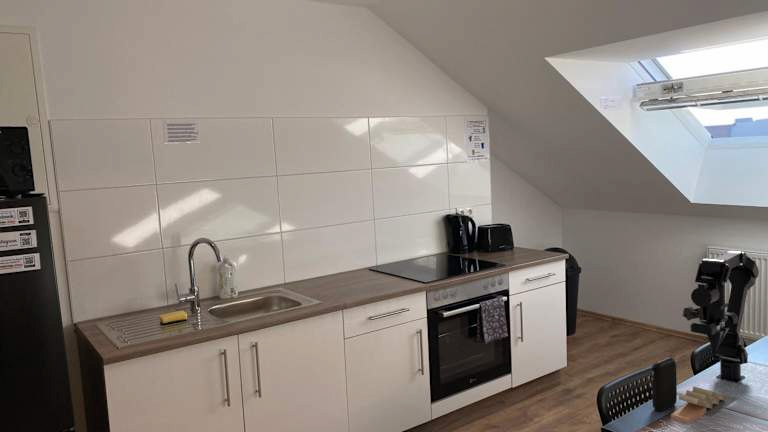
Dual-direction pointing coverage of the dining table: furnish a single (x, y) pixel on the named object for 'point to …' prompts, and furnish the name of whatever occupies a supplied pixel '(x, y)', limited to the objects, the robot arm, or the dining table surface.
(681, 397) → the domino
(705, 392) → the domino
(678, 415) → the domino
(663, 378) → the black upright slab
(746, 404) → the dining table surface
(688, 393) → the domino
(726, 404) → the rubber mat
